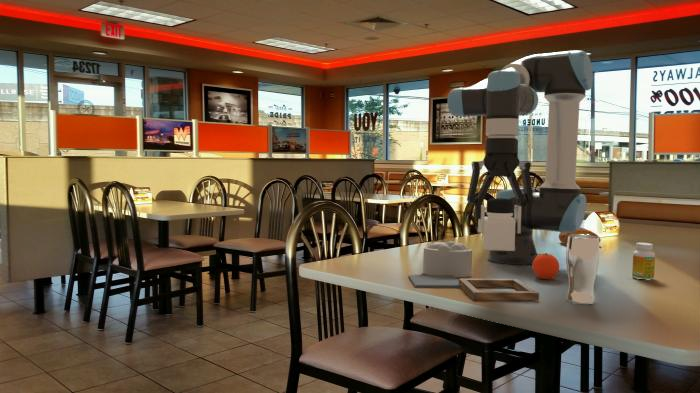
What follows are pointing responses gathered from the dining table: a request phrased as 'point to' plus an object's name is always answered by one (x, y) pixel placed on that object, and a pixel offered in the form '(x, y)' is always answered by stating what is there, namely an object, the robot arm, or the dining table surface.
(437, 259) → the lumpy-topped squat cylinder
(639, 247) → the supplement bottle
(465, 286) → the pocket
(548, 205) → the robot arm
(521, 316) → the dining table surface
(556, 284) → the dining table surface
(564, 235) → the croissant
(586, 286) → the beer glass
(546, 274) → the clementine
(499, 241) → the medicine bottle
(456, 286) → the mat
